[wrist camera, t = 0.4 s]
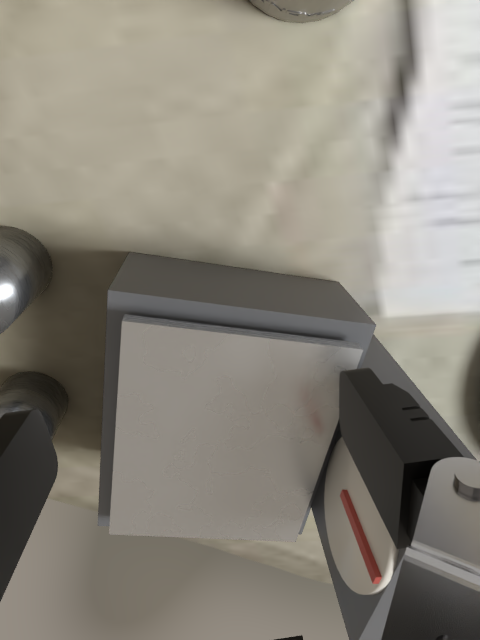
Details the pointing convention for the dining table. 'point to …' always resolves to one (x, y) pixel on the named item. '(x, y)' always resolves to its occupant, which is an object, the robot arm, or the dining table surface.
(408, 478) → the robot arm
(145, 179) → the dining table surface
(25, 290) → the cylinder
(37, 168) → the dining table surface
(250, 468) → the scale pan
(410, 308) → the dining table surface
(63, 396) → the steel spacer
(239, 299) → the scale
